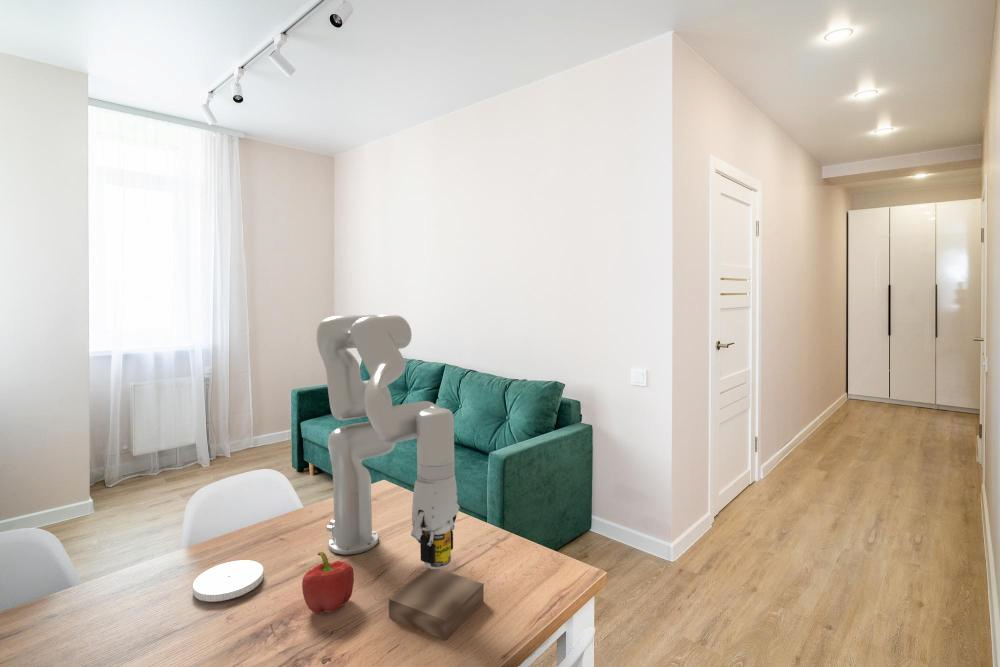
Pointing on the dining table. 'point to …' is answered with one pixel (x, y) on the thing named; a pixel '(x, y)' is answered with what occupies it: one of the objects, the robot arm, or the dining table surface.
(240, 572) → the plastic lid
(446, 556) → the supplement bottle
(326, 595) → the vegetable
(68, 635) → the dining table surface
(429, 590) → the walnut base
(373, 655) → the dining table surface
